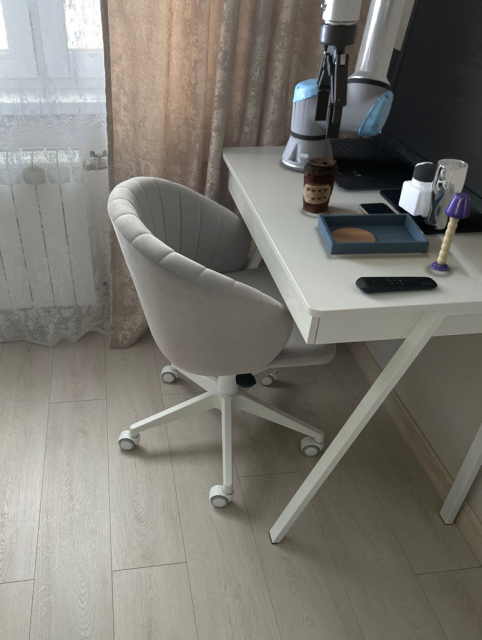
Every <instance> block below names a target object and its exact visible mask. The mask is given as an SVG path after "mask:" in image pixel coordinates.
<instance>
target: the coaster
mask: <svg viewBox="0 0 482 640" xmlns="http://www.w3.org/2000/svg"><path fill="white" fill-rule="evenodd" d="M332 237H333V239H334V241H335V242H375V236H374V235H373V234H371V233H370V232H368V231H366V230H362V229H358V228H341V229H338V230H335V231H334V232H333V233H332Z"/></svg>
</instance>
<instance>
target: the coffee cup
mask: <svg viewBox="0 0 482 640" xmlns="http://www.w3.org/2000/svg"><path fill="white" fill-rule="evenodd" d="M338 172H339V166H338V164H337V160H336V159H334V158H333V159H332V158H327V157H318V158H313V159H309V160H308V162H307V163H306V164H305V166H304V172H303V185H302V186H303V193H302V210H304V211H305V212H306V213H310V214H316V215H317V214H318V215H319V214H324V213H326V212H328V211H329V204H330V200H331V197H332V194H333V191H334V186H335V181H336V176H337V174H338Z"/></svg>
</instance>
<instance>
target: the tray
mask: <svg viewBox="0 0 482 640" xmlns="http://www.w3.org/2000/svg"><path fill="white" fill-rule="evenodd" d="M317 226H318V229H319V231H320V233H321V236H322V237H323V240H324V243H325V245H326V247H327V250H328V252H329V254H330V255H370V254H371V255H373V254H375V255H376V254H417V253H418V254H419V253H420V254H421V253H422V254H423V253H426V254H427V253H428V251H429V247H430V244H431V241H430V239H428V237H427V236H426V235H425V234H424V232H423V230H422V229H421V228H420V226H419V225H418V224H417V223H416V221H415V220H414V218H413V217H412V216H411V214H410V213H409V212H405V213H357V214H318V221H317ZM341 228H358V229H362V230H366V231H368V232H370V233H371V234H373V235H374V236H375V242H335V241H334V239H333V237H332V233H333V232H334V231H335V230H338V229H341Z"/></svg>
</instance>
